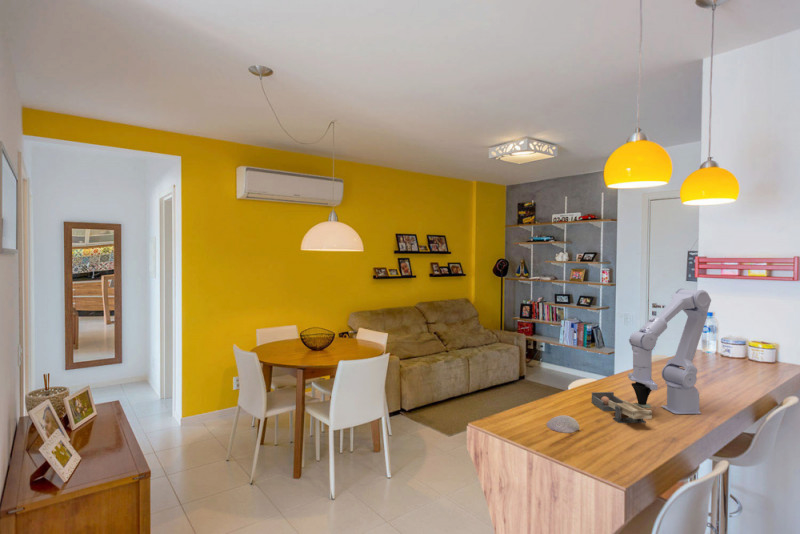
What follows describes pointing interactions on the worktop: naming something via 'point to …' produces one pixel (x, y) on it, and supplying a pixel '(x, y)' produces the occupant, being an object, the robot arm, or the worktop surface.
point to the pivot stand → (626, 419)
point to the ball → (605, 400)
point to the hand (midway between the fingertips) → (642, 404)
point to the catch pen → (599, 403)
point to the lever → (633, 409)
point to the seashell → (563, 424)
